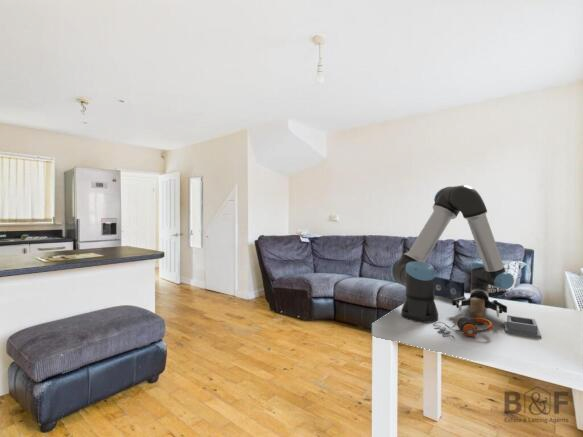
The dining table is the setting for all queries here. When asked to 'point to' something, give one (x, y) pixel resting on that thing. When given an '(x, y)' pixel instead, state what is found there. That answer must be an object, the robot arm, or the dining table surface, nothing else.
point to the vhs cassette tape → (448, 288)
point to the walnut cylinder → (477, 310)
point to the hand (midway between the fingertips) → (478, 310)
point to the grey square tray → (522, 326)
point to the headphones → (468, 326)
